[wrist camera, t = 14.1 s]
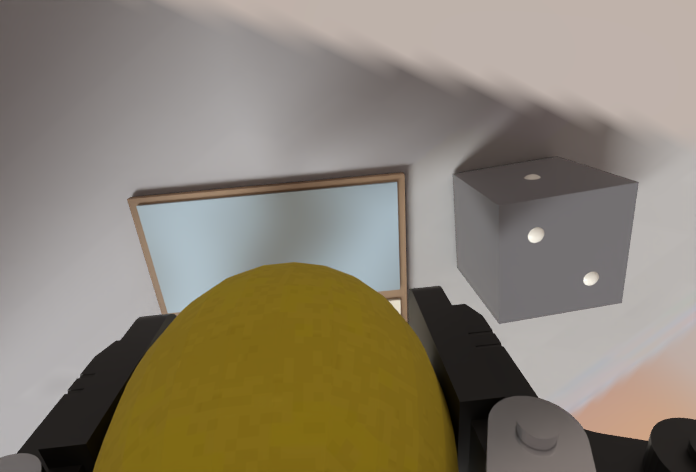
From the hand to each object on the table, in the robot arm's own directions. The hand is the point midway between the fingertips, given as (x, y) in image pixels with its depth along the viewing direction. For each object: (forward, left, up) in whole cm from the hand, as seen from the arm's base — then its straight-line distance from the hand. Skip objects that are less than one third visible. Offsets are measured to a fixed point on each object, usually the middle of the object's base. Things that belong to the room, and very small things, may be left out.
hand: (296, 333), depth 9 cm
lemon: (0, 0, -1) cm, 1 cm away
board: (-1, -3, -6) cm, 7 cm away
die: (+8, -2, -4) cm, 9 cm away
